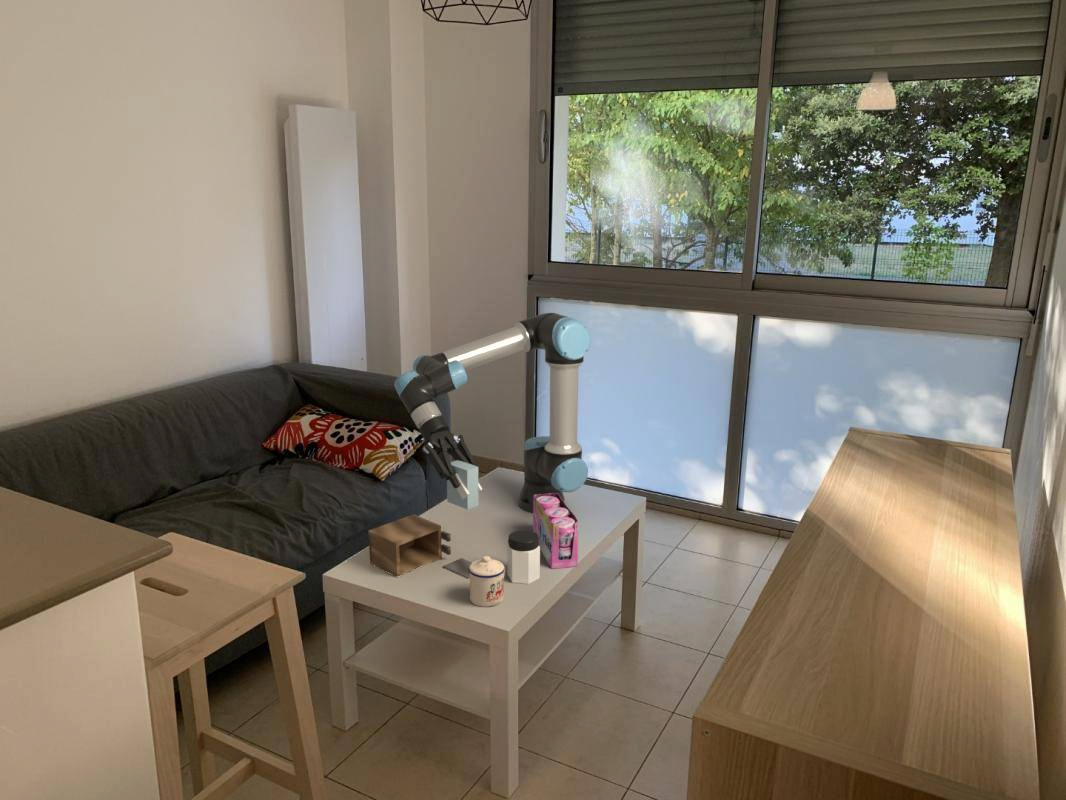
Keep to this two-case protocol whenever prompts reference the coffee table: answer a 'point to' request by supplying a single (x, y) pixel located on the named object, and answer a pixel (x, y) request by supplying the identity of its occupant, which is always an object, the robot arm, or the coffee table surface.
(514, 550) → the jar
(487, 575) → the teacup with lid
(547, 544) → the gum box
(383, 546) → the cabinet
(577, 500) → the coffee table surface
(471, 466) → the door panel
